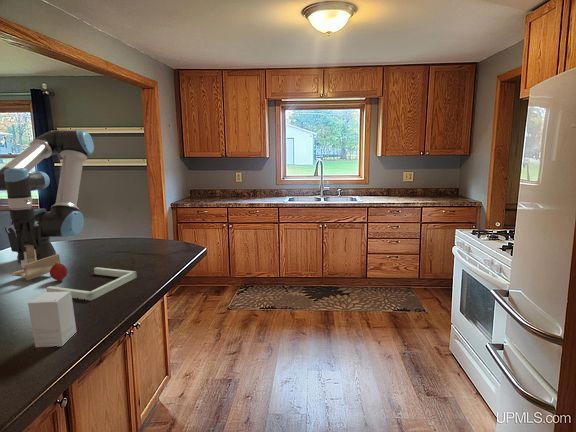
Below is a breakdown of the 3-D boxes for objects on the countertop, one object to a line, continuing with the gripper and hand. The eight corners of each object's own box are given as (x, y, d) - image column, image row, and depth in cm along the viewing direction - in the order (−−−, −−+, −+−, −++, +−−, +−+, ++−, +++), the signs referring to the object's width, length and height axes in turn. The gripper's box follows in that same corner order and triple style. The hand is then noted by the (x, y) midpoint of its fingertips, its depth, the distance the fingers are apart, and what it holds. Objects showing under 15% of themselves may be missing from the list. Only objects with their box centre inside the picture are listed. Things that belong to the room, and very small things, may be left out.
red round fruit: (56, 278, 145) (53, 259, 143) (71, 278, 145) (69, 259, 144) (48, 284, 139) (45, 264, 137) (63, 283, 139) (61, 263, 138)
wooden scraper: (6, 277, 140) (2, 249, 138) (40, 266, 153) (36, 240, 151) (28, 280, 137) (24, 251, 135) (60, 268, 150) (57, 242, 148)
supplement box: (77, 332, 102) (72, 290, 100) (62, 347, 95) (56, 302, 92) (50, 333, 102) (45, 291, 99) (33, 347, 95) (26, 302, 92)
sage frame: (47, 294, 129) (46, 287, 129) (97, 273, 151) (96, 267, 150) (91, 300, 124) (90, 293, 123) (136, 277, 145) (136, 271, 145)
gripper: (7, 212, 132) (16, 273, 136) (47, 205, 147) (54, 260, 152) (-8, 211, 134) (2, 271, 138) (33, 204, 149) (41, 259, 154)
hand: (29, 265), depth 145 cm, fingers closed on wooden scraper, 3 cm apart
